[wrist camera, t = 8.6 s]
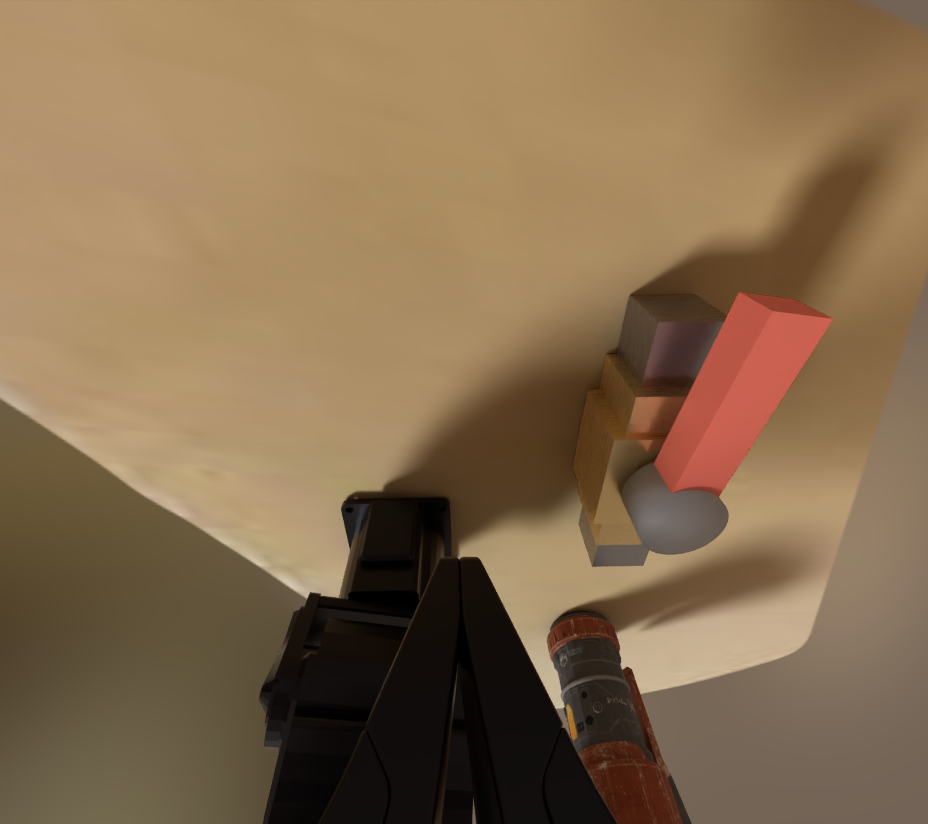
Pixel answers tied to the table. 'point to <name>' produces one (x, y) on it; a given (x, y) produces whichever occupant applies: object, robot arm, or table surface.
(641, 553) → the valve pipe
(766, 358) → the lever
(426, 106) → the table surface
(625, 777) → the grenade
